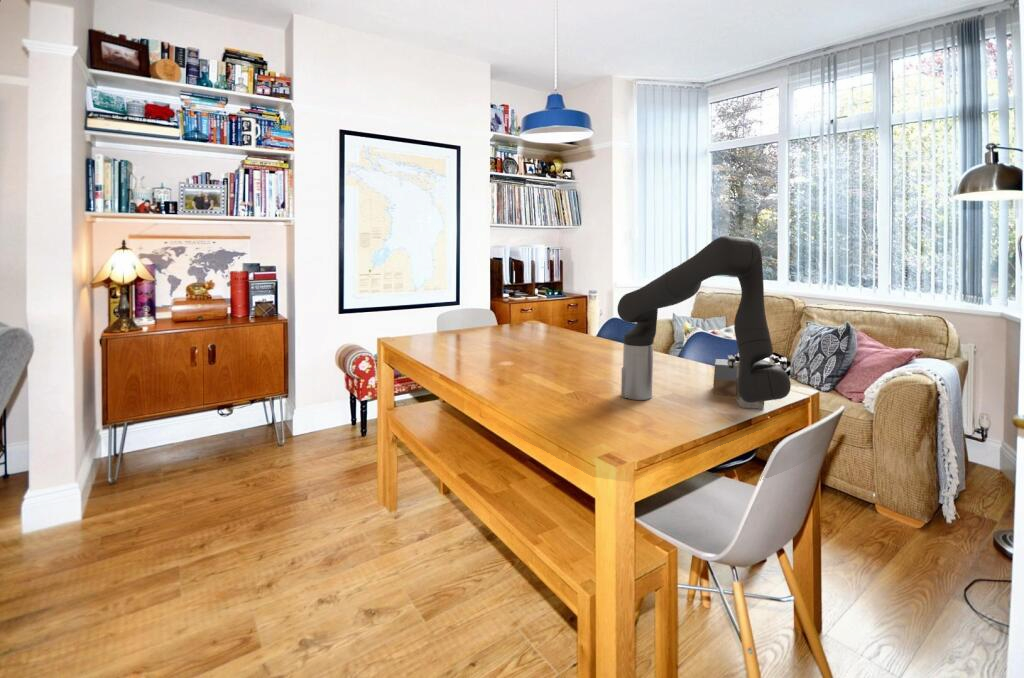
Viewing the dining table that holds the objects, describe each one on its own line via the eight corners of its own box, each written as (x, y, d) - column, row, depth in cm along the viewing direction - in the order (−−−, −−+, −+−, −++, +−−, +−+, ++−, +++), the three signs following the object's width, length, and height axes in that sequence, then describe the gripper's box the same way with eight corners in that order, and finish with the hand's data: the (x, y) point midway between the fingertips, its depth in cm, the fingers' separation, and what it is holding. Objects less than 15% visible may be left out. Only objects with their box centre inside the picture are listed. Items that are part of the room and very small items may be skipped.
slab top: (714, 379, 171) (714, 364, 170) (715, 373, 179) (715, 358, 178) (744, 381, 168) (745, 366, 167) (744, 375, 176) (745, 360, 175)
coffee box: (764, 409, 155) (768, 355, 152) (741, 408, 156) (744, 354, 154) (757, 400, 164) (760, 349, 161) (734, 399, 165) (737, 348, 162)
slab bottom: (712, 394, 172) (713, 379, 171) (713, 387, 180) (714, 373, 179) (743, 397, 168) (744, 382, 167) (742, 390, 177) (743, 375, 176)
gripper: (791, 356, 129) (784, 345, 144) (728, 353, 134) (728, 343, 149) (790, 386, 130) (783, 372, 145) (727, 382, 135) (727, 369, 150)
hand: (755, 357), depth 147 cm, fingers open, 8 cm apart
